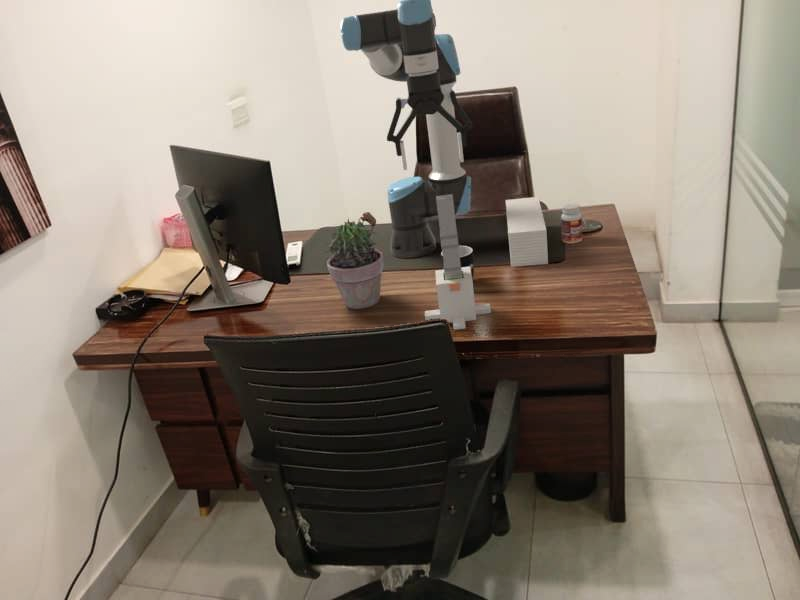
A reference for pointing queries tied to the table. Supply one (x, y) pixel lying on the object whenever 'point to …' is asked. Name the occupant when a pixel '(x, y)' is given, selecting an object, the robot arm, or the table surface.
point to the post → (449, 237)
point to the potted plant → (356, 263)
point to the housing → (456, 300)
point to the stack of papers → (526, 232)
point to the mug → (464, 258)
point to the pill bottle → (571, 223)
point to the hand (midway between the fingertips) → (433, 164)
